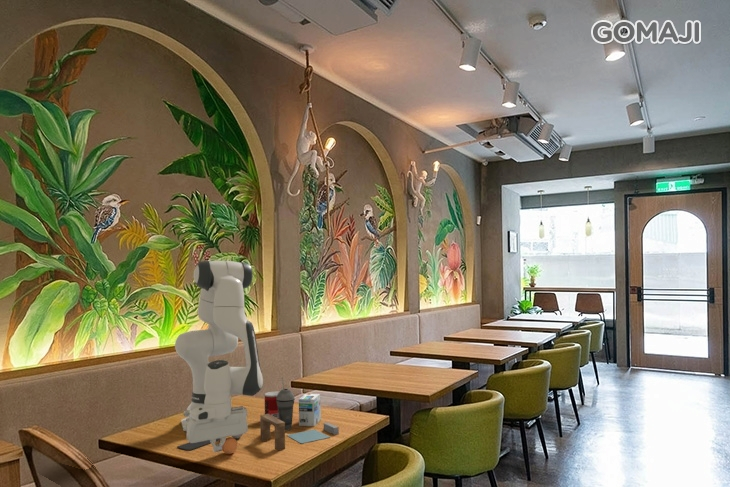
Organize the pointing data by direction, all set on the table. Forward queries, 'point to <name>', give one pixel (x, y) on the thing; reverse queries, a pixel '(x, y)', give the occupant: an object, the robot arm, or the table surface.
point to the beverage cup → (285, 406)
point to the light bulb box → (309, 409)
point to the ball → (230, 445)
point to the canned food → (271, 404)
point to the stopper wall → (331, 428)
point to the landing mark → (308, 436)
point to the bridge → (279, 430)
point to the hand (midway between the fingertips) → (217, 451)
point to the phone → (195, 445)
